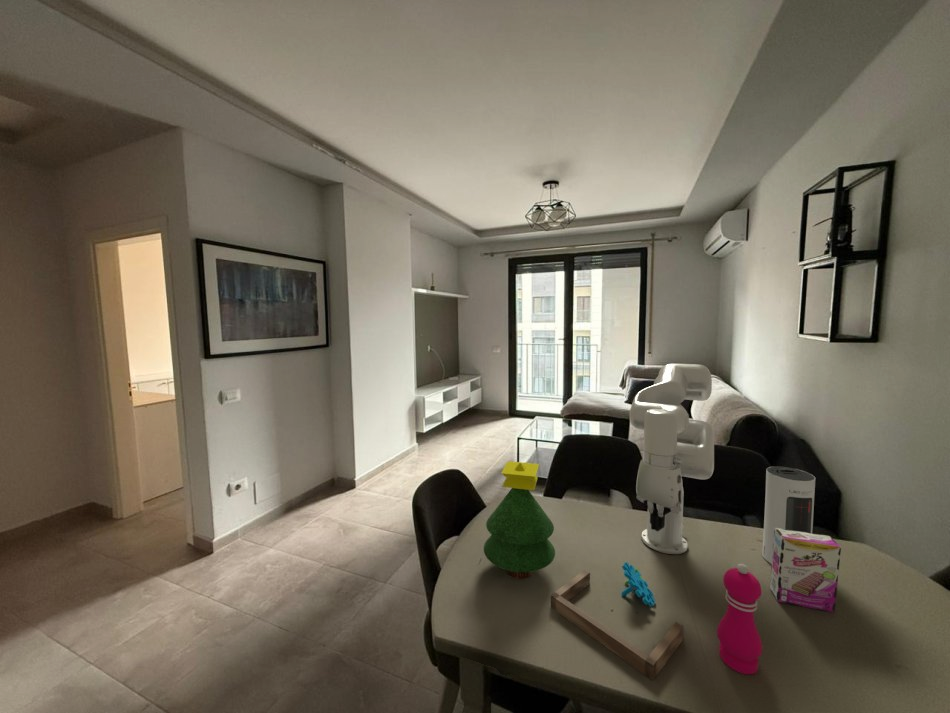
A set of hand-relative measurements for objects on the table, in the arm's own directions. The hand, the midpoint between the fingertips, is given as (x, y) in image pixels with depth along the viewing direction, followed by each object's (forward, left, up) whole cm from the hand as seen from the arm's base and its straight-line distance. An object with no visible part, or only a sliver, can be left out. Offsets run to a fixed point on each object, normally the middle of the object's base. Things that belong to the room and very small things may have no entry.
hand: (657, 528), depth 95 cm
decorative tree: (+24, -26, -15) cm, 38 cm away
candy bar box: (-19, +26, -15) cm, 36 cm away
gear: (+9, 0, -15) cm, 17 cm away
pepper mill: (+11, +21, -15) cm, 28 cm away
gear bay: (+21, 0, -14) cm, 25 cm away
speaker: (-35, +20, -15) cm, 43 cm away
